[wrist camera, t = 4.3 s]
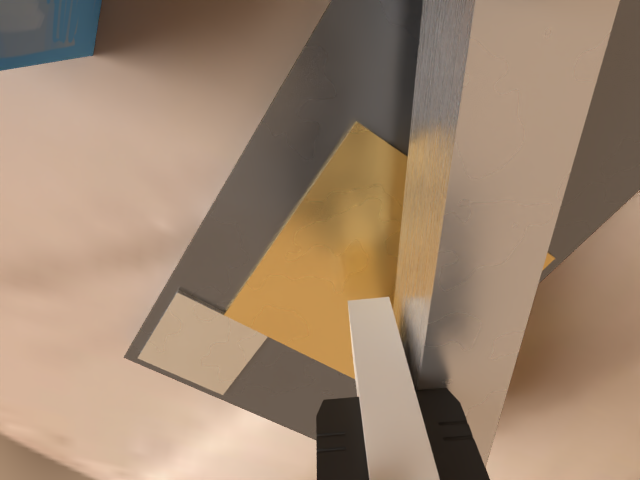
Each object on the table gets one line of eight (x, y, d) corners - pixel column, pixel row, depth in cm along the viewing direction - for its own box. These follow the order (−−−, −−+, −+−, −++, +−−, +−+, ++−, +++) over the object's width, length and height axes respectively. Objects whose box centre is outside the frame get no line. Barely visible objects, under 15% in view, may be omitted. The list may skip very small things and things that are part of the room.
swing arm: (420, -173, 9) (522, -362, 4) (570, -174, 9) (819, -363, 5) (370, 445, 18) (387, 581, 14) (443, 445, 18) (483, 580, 14)
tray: (475, -247, 10) (514, -312, 8) (758, 53, 13) (835, 59, 11) (131, 344, 19) (109, 382, 17) (352, 441, 22) (355, 483, 20)
